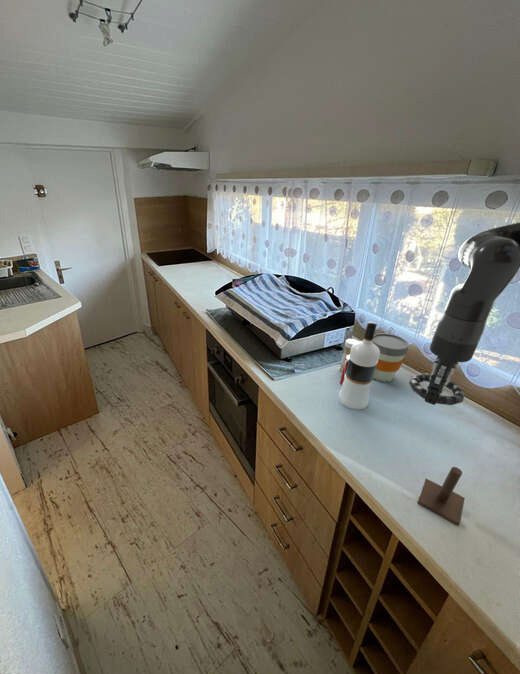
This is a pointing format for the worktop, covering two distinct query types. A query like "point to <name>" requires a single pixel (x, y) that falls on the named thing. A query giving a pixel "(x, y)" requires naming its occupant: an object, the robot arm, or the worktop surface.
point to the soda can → (344, 370)
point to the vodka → (360, 371)
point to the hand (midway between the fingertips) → (431, 399)
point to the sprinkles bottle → (347, 350)
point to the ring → (446, 400)
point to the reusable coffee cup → (389, 355)
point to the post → (443, 497)
